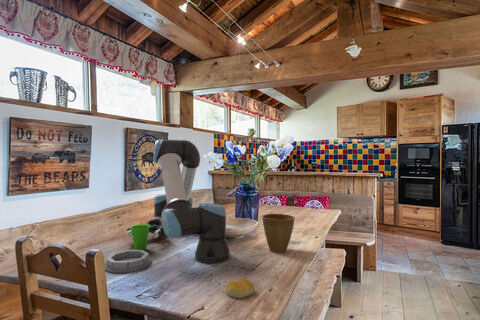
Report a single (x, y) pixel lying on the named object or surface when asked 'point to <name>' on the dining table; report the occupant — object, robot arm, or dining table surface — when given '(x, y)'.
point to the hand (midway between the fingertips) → (141, 235)
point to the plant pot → (278, 231)
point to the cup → (140, 236)
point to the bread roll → (240, 288)
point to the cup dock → (127, 261)
